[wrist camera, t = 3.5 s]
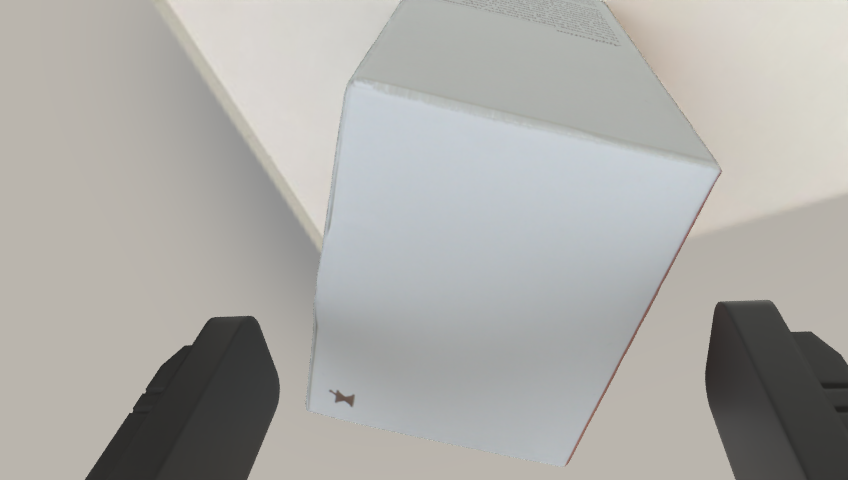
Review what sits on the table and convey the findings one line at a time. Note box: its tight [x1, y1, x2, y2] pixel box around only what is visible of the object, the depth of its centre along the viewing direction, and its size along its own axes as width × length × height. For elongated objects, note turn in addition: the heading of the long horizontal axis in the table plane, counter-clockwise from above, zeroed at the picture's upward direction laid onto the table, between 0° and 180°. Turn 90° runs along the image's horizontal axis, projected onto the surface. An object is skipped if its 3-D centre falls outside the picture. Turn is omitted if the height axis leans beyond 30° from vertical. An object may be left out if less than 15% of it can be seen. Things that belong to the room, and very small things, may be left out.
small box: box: [306, 0, 722, 467], centre depth 17 cm, size 8×6×13 cm
